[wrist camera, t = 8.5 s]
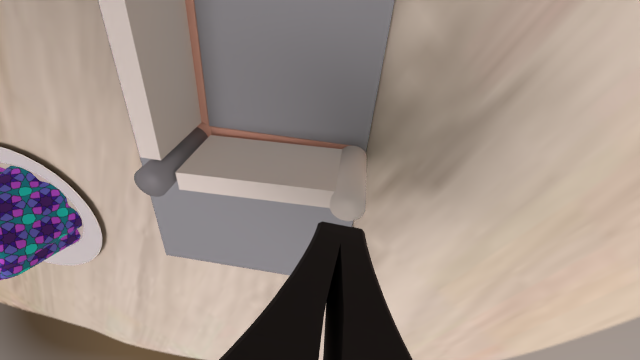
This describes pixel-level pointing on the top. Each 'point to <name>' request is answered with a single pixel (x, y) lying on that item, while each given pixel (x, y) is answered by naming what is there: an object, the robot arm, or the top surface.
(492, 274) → the top surface
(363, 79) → the card
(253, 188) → the fence gate
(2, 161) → the pudding
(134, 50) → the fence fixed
